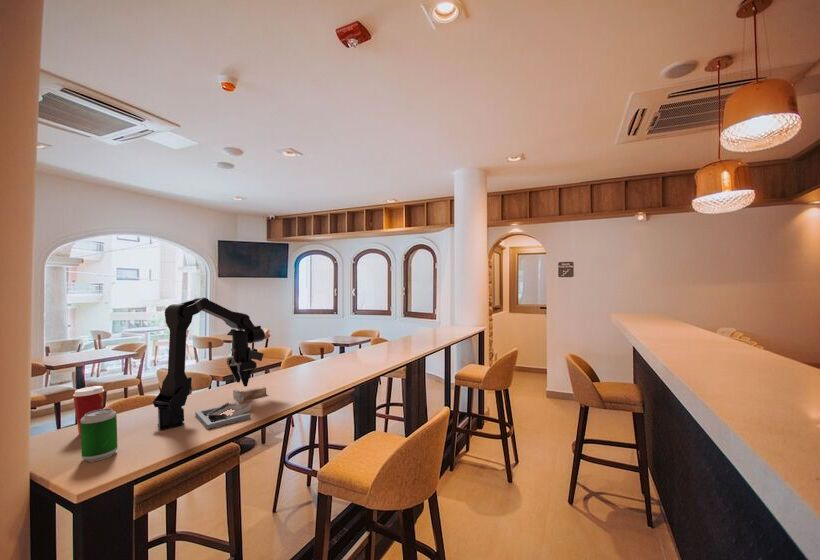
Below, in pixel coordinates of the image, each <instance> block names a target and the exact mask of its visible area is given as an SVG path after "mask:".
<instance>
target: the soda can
mask: <svg viewBox="0 0 820 560" xmlns="http://www.w3.org/2000/svg"><path fill="white" fill-rule="evenodd" d="M117 416H118V415H117V411H115V410H113V408H103V409H100V410H95V411H92V412H89V413H86V414H85V415H84V417H83V418H81V436H80V443H81V444H80V447H81V449H80V450H81V459H82V460H85V461H86V462H89V463H90V462H91V463H93V462H98V461H102V460H106V459H108V458H110V457H113V455H114V454H115V453H116V452H117V451H118V422H117V419H118V418H117Z"/></svg>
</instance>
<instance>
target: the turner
mask: <svg viewBox="0 0 820 560" xmlns="http://www.w3.org/2000/svg"><path fill="white" fill-rule="evenodd" d="M232 393H233V394H232V397H233V399H234V400H235V399H236V401H237V402H238V401H239V402H238V403H239V404H240V403H244V401H245V400H249V399H253V398H257V397H262V396H266V395H267V387H265V386H261V387H256V388H252V389H251V388H250V389H247V390H246V389H245V390H241V391H240V390H238V389H237V388H235V389H233V390H232Z"/></svg>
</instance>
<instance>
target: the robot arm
mask: <svg viewBox="0 0 820 560" xmlns="http://www.w3.org/2000/svg"><path fill="white" fill-rule="evenodd" d="M201 311H202V312H204V313H206V314H209V315H211V316H214V317H215V318H218V319H220V320H222V321H223V322H224V323H225V324H226V325H227V326H228V327H230V328H231V329H230V331H228V333H227V334H226V335H227V336H232V339H231V340H232V347H231V348H230V350H231V352H232V356H229V357H228V358H227V359H226V365H227V366H228V368H229V370H230V372H231V375H232V376H233V377H234V379H235V381H236V383H237V384H238V383H240V382H241V383H242V385H243V387H245V388H246V387H248V385H249V380H250V376H251V373H252V372H253V371H254V370H256V368H257V367H258V365H257V364H258V363H257V362H256V361H259V362H262V361H263V357H264V354H265V353H263V352H261V351H258V349H257V348H251V347H249V344H255V343H259V342H262V341H264V340H265V337H266V333H265V331H264V330H263V328H262V326H261V325H255V324H254V323H253V322H252V320H251V318H250V316H249V315H248V314H247V313H243V312H237V311H232V310H231V309H228V308H226V307H224V306H222V305H220V304H218V303H216V302H214V301H212V300H210V299H209V298H207V297H196V298H193V299H191V300H188V301H184V302H182V303H177V304H176V303H174V304H169V305H168V306H166V308H165V310H164V319H165V323H166V325H167V328H168V329H169V338H168V339H169V341H168V342H169V343H168V344H169V345H168V363H167V374H166V376H165V377H164V379H163V381H162V383H161V388H160V392H159V393H158V395H157V396H156V397H155V399H154V400H153V401H152V404H153V406H154V408H157V427H158V429H159V430H160V431H163V430H168V429H171V428H176V427H178V426H179V425H180V426H182V425H184V421H185V409H184V408H183V407H184V406H186V402H187V399H188V396H189V395H190V393H191V390H193V389H192V380H193V379H192V377H191V376H187V374H186V351H187V350H186V349H187V335H188V334H187V331H188V329H189V327H190V326H191V323H192V321H193V317H194V316H195V315H197V314H199V313H200V312H201ZM254 360H256V361H254ZM180 426H179V427H180Z"/></svg>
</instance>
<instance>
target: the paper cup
mask: <svg viewBox="0 0 820 560" xmlns="http://www.w3.org/2000/svg"><path fill="white" fill-rule="evenodd" d="M104 392H105V389H104V386H103V385H93V386H87V387H82V388H78V389H76V390H75V391H74V394H72V396H73V397H74V404H75V405H74V406H75V413H76V415H75V416H76V421H77V422H76V425H77V431H78V435H79V437H81V418H83V417H84V415H85V414H86V413H89V412H92V411H95V410H100V409H104Z"/></svg>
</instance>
